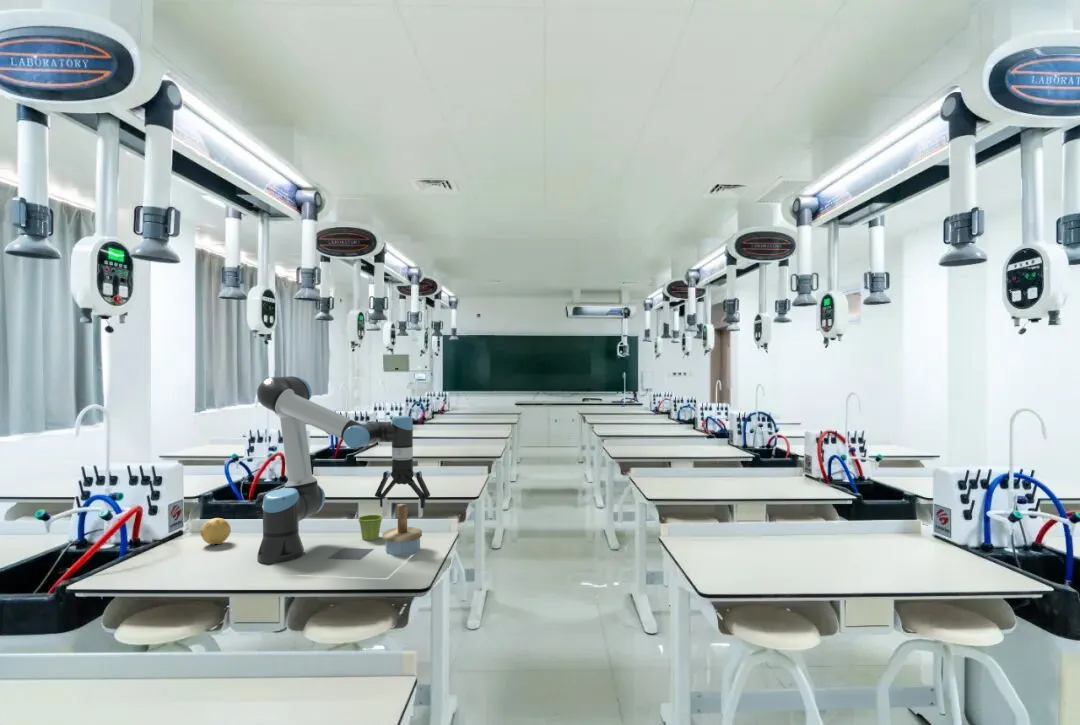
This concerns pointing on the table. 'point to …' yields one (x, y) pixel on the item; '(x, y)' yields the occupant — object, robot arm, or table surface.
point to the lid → (402, 528)
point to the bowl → (402, 547)
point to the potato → (215, 531)
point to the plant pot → (370, 526)
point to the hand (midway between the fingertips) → (402, 516)
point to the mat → (350, 553)
